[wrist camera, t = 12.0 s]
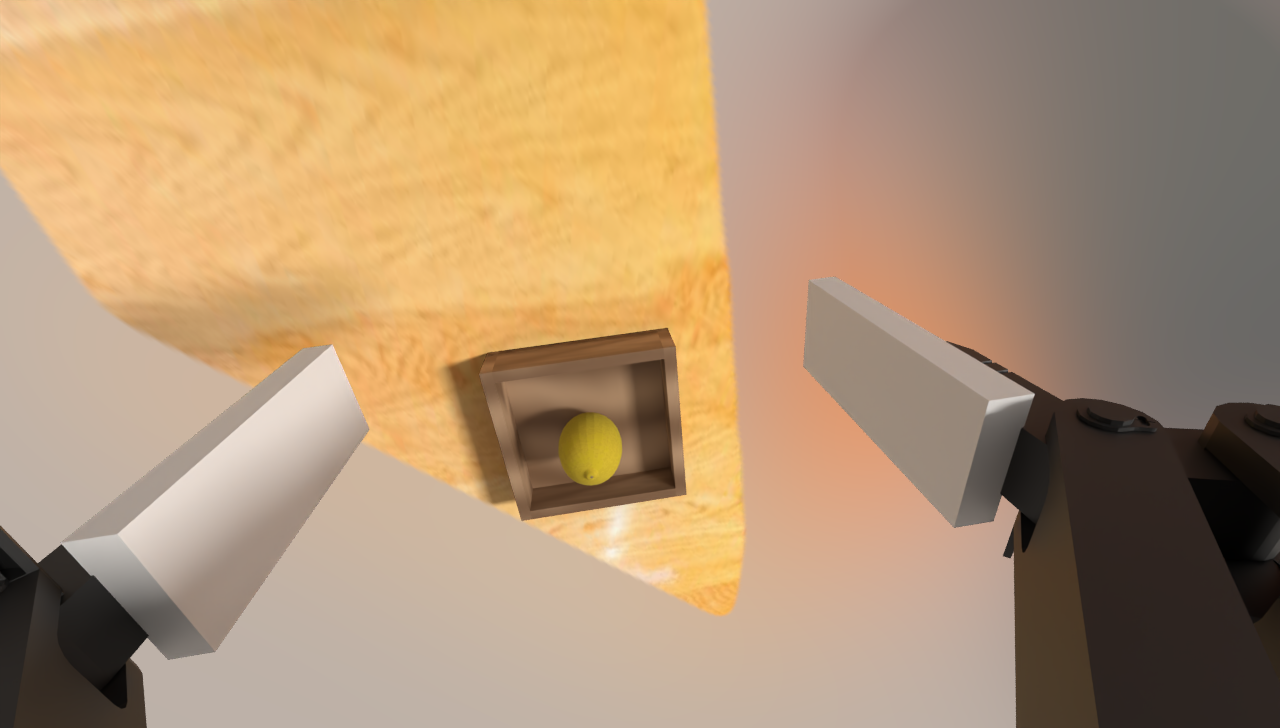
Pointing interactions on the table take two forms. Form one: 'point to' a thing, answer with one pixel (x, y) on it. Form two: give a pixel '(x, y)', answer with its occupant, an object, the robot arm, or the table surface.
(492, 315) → the table surface
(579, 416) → the lemon
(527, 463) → the walnut bin
